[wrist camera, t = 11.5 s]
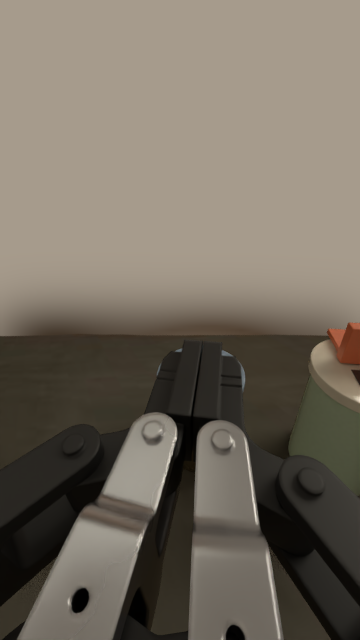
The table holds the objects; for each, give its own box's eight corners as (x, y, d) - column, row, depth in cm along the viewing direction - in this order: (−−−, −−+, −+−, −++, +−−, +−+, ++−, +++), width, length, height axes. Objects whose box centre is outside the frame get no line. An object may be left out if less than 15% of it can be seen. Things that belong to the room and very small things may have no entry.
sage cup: (354, 427, 31) (399, 340, 24) (393, 510, 24) (474, 420, 17) (278, 418, 32) (300, 334, 25) (292, 494, 25) (329, 405, 18)
